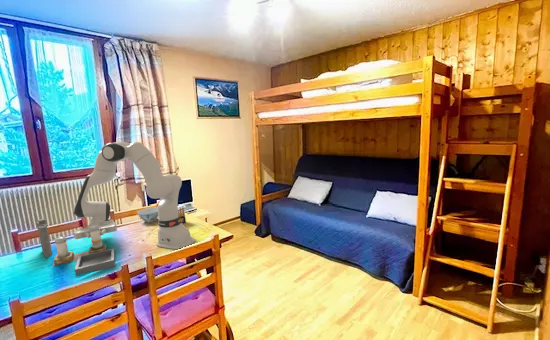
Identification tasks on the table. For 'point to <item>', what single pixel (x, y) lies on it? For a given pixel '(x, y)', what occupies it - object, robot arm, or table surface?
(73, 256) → the fuse block
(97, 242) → the cylinder
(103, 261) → the tray
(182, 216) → the ammunition clip
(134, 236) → the table surface
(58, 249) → the cylinder
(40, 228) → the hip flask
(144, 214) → the chinaware
